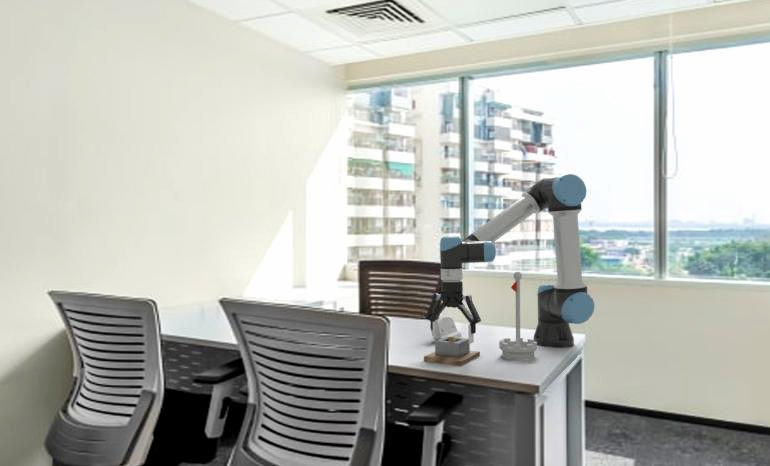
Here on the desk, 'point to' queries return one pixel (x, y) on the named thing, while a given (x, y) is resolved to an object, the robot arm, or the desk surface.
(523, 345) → the flag stand
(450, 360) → the wooden peg stand
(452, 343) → the grey hollow square block
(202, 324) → the desk surface
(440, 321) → the hinge
